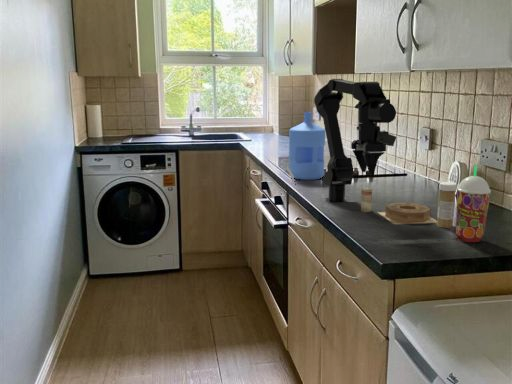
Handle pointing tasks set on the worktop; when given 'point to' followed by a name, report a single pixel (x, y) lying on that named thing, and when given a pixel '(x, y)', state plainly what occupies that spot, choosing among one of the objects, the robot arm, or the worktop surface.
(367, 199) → the cream banded cylinder
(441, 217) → the sprinkles bottle
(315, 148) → the water jug
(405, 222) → the board
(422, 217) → the bead
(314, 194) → the worktop surface
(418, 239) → the worktop surface
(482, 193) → the smoothie
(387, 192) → the worktop surface
